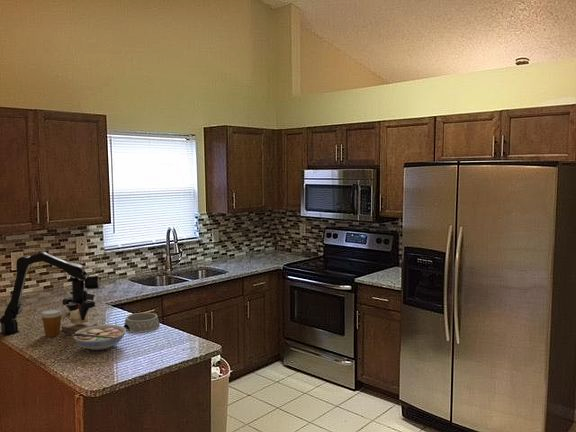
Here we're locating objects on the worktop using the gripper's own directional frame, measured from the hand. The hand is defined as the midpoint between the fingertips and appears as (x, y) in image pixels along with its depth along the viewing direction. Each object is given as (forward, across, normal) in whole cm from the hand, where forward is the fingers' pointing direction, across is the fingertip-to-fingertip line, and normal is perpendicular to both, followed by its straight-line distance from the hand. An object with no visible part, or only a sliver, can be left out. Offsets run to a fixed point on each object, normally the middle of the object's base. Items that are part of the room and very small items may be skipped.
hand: (79, 319), depth 254 cm
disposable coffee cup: (+5, +3, +13) cm, 14 cm away
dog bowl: (+6, -24, -20) cm, 32 cm away
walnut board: (+5, 0, 0) cm, 5 cm away
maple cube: (+2, 0, 0) cm, 2 cm away
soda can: (+5, +30, -23) cm, 38 cm away
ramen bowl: (+5, -32, +13) cm, 35 cm away
